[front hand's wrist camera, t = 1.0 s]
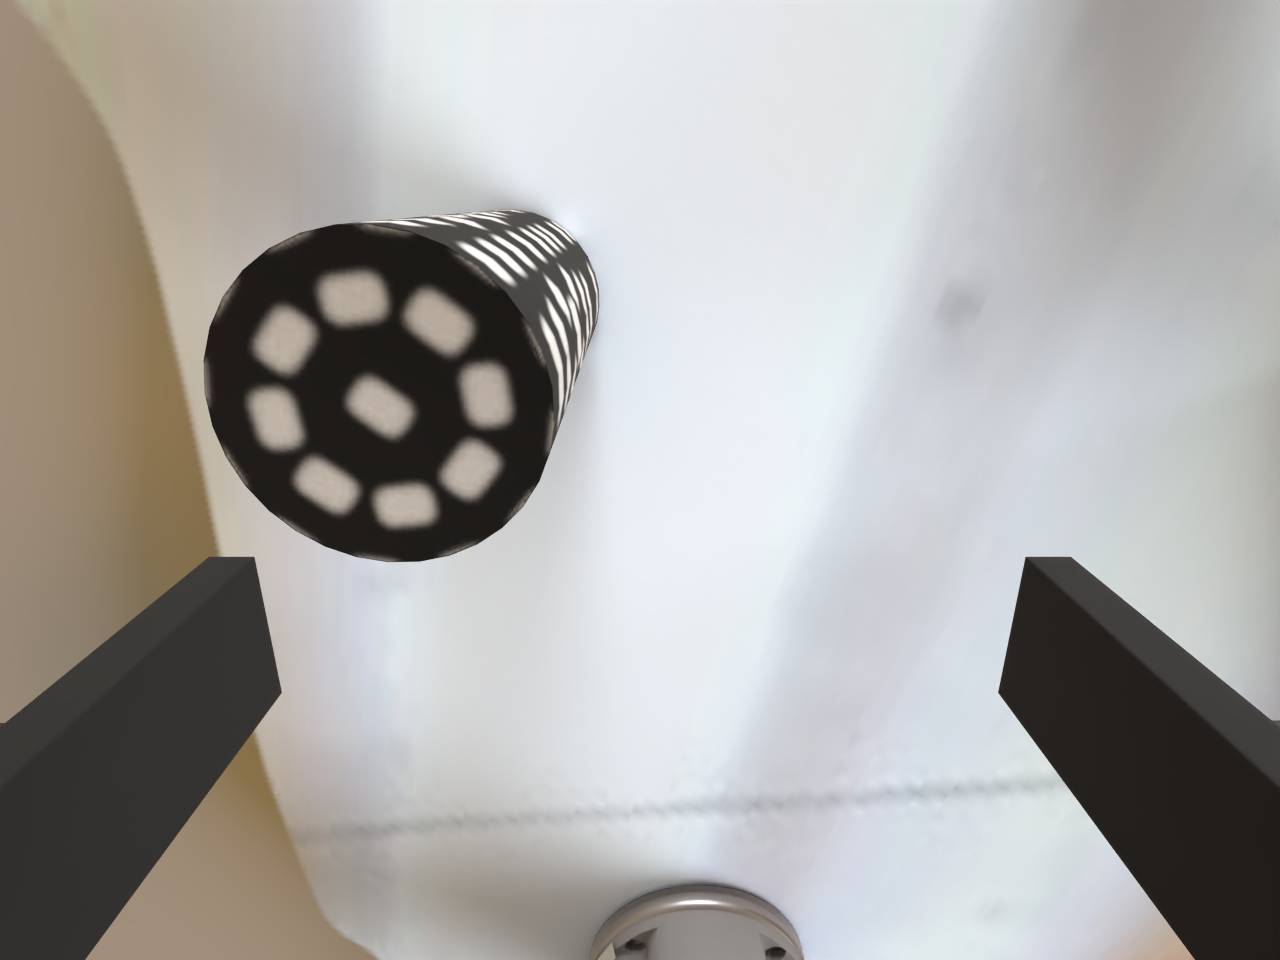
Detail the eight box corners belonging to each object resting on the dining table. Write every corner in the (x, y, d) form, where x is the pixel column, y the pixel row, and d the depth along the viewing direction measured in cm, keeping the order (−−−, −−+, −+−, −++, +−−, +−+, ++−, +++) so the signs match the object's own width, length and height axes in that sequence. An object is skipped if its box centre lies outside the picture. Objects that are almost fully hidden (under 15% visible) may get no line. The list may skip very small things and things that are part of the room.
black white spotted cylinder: (633, 285, 36) (624, 379, 17) (534, 413, 38) (433, 618, 20) (492, 170, 34) (313, 138, 16) (398, 313, 37) (143, 434, 18)
